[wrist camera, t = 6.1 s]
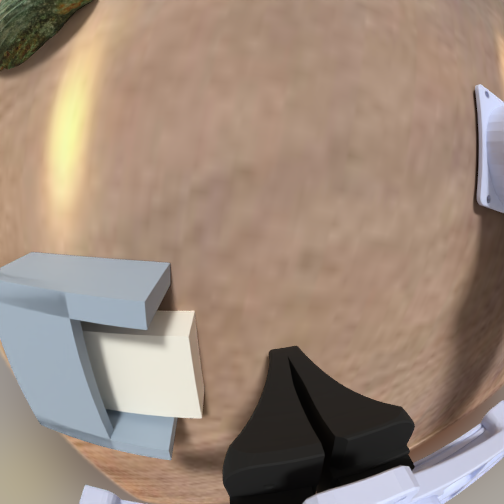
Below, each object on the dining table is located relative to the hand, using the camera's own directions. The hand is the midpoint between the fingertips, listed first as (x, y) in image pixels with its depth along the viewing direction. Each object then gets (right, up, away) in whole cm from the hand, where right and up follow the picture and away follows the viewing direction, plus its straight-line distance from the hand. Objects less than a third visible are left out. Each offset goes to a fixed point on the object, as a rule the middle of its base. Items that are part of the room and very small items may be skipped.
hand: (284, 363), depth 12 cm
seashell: (-15, +21, -5) cm, 26 cm away
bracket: (-9, +1, 0) cm, 9 cm away
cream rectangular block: (-8, 0, +1) cm, 8 cm away
